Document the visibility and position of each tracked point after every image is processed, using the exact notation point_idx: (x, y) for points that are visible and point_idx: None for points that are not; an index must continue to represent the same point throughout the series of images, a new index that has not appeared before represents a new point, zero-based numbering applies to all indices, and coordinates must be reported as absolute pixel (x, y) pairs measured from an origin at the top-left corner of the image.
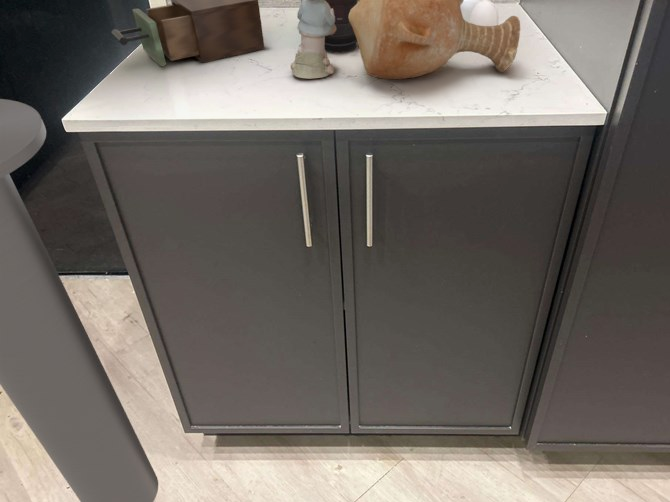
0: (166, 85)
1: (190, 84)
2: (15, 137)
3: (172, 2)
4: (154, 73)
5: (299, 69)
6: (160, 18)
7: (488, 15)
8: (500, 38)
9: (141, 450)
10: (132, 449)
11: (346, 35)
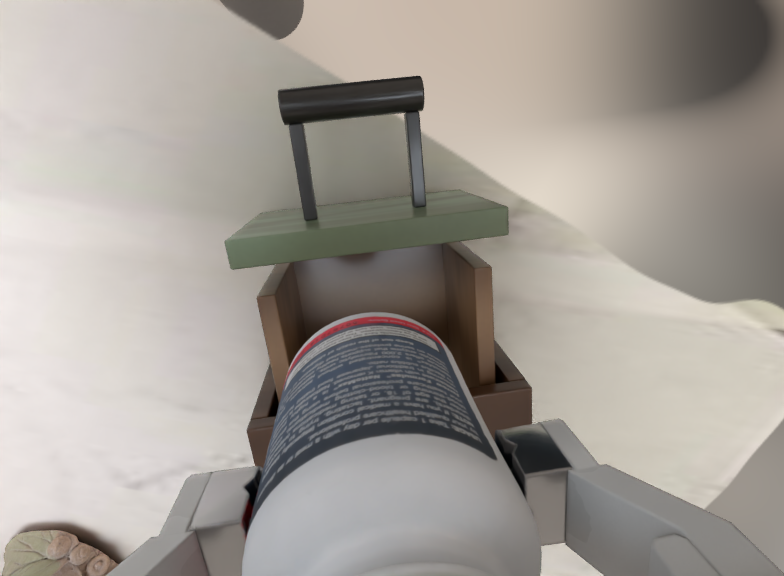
0: (118, 200)
1: (99, 270)
2: None
3: (508, 380)
4: (250, 185)
5: (16, 556)
6: (465, 299)
7: None
8: None
9: (250, 22)
10: (229, 8)
11: None
